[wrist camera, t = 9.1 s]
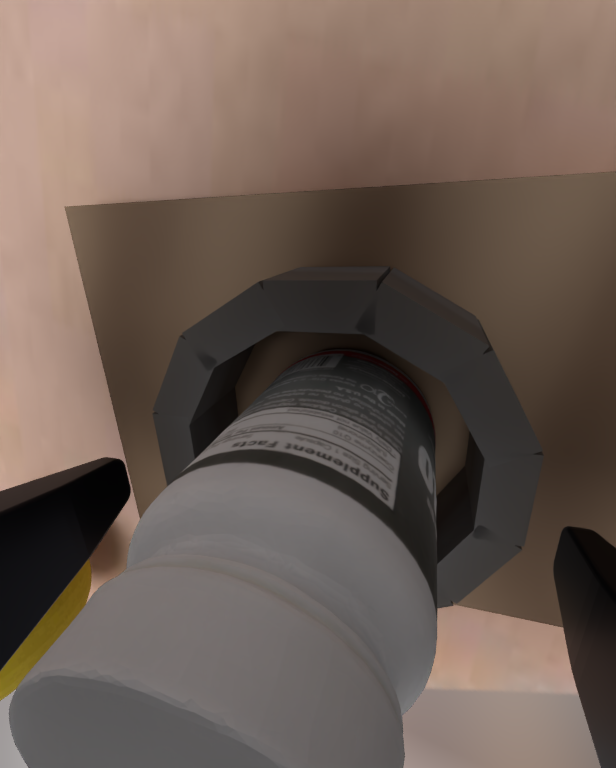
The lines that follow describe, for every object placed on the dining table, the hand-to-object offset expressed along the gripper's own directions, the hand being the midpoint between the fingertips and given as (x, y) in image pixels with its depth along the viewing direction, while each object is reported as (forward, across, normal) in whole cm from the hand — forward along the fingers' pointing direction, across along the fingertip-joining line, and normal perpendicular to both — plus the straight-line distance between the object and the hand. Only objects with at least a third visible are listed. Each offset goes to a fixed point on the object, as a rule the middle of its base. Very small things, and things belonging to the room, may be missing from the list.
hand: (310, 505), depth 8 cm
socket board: (+5, 0, 0) cm, 5 cm away
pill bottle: (+4, 0, 0) cm, 4 cm away
